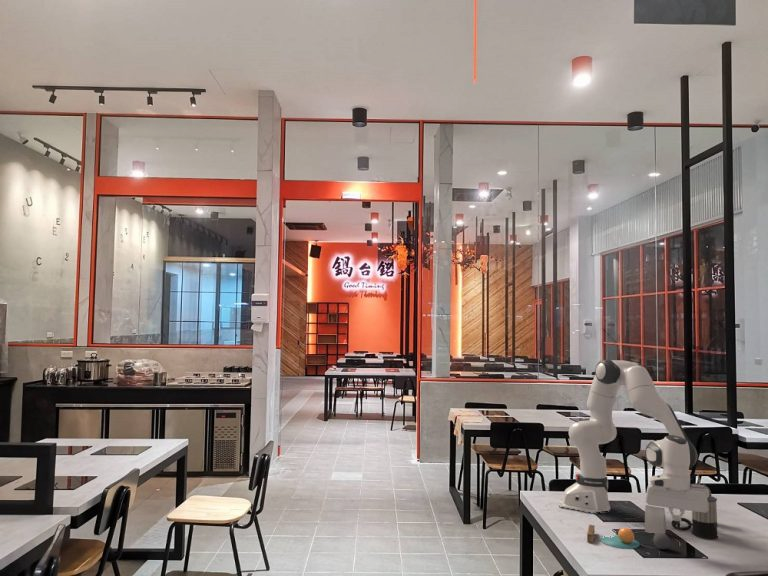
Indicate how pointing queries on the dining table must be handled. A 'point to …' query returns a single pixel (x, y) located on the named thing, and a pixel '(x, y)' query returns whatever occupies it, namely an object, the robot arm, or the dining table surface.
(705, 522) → the milk frother
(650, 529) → the white carton box
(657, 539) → the gray ball
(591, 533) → the wall
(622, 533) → the orange ball
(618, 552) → the dining table surface
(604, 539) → the teal ellipsoid
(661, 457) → the robot arm
